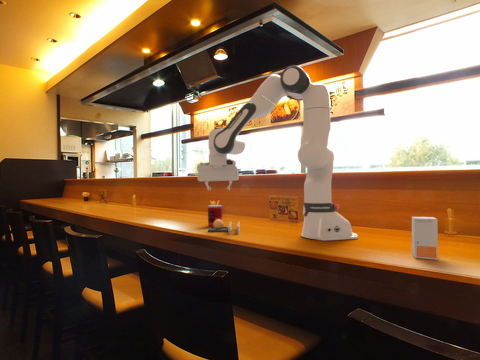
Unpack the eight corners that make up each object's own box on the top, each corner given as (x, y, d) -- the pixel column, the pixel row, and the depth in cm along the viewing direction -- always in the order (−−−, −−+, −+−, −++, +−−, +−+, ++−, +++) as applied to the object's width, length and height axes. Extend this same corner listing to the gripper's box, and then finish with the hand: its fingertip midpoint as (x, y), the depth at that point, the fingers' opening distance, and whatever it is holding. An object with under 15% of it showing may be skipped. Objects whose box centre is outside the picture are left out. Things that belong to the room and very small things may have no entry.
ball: (223, 230, 140) (223, 220, 140) (212, 230, 140) (212, 220, 140) (223, 228, 145) (223, 218, 145) (213, 228, 145) (213, 218, 145)
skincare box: (414, 258, 86) (413, 218, 86) (411, 255, 90) (411, 216, 90) (438, 260, 84) (437, 218, 84) (434, 256, 88) (434, 216, 88)
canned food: (223, 224, 161) (223, 204, 161) (221, 227, 153) (220, 206, 153) (209, 224, 162) (209, 204, 162) (206, 227, 154) (206, 206, 154)
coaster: (228, 228, 147) (228, 226, 147) (226, 231, 138) (226, 229, 138) (210, 229, 147) (210, 227, 147) (207, 232, 138) (207, 230, 138)
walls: (239, 228, 147) (239, 221, 147) (238, 234, 131) (238, 226, 131) (230, 228, 148) (230, 221, 148) (228, 234, 132) (228, 226, 132)
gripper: (195, 162, 140) (196, 191, 140) (238, 161, 140) (239, 190, 140) (197, 163, 147) (198, 190, 147) (238, 162, 146) (239, 189, 146)
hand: (218, 190), depth 143 cm, fingers open, 8 cm apart
